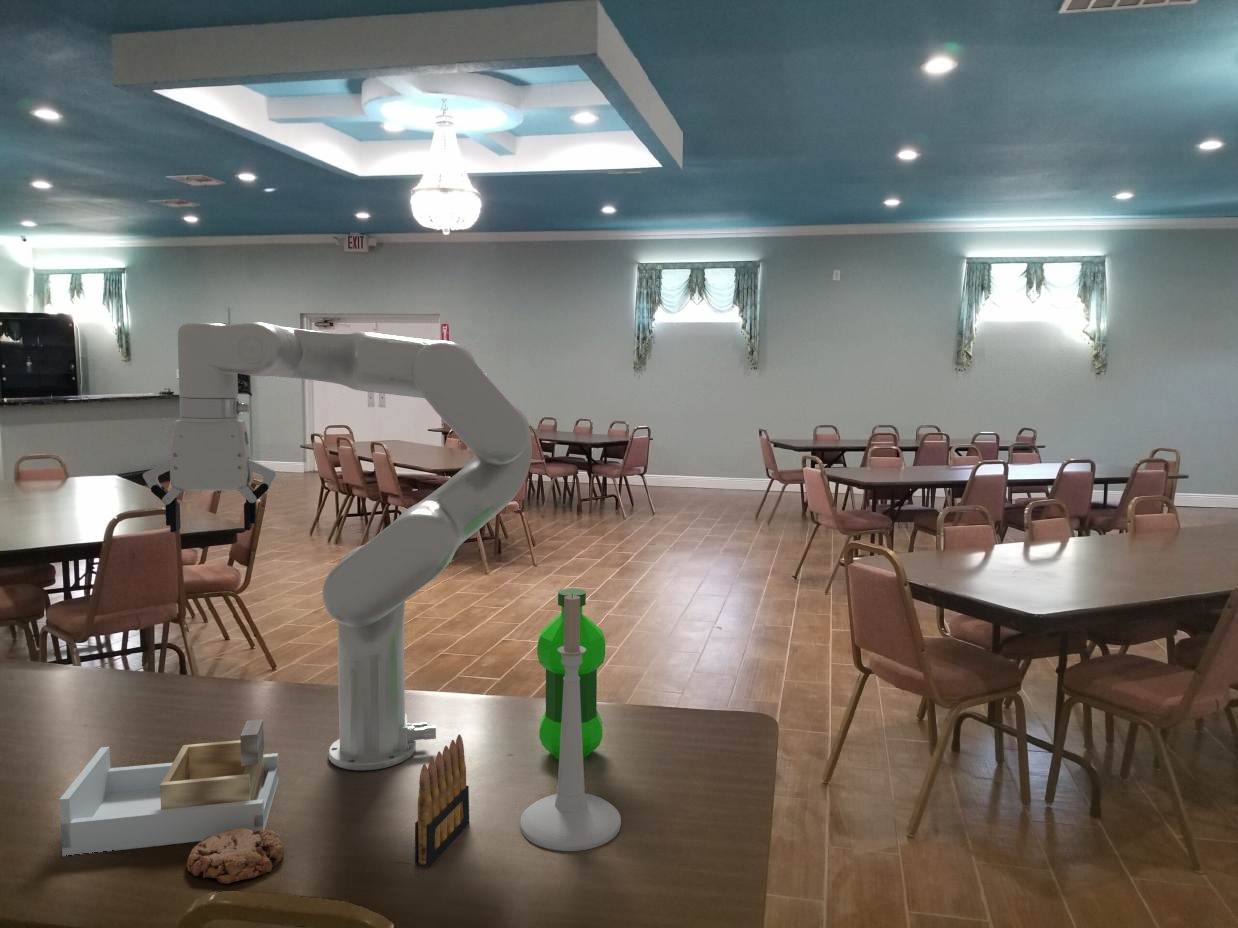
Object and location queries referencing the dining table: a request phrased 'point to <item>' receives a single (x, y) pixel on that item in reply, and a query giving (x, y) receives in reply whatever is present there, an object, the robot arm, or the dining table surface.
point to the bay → (148, 809)
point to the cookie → (236, 855)
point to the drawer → (216, 771)
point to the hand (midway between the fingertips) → (212, 529)
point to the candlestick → (571, 768)
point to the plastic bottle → (555, 673)
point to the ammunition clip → (441, 804)
